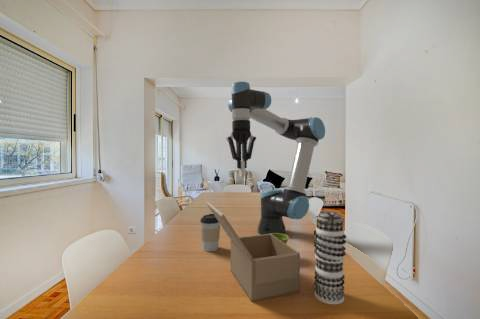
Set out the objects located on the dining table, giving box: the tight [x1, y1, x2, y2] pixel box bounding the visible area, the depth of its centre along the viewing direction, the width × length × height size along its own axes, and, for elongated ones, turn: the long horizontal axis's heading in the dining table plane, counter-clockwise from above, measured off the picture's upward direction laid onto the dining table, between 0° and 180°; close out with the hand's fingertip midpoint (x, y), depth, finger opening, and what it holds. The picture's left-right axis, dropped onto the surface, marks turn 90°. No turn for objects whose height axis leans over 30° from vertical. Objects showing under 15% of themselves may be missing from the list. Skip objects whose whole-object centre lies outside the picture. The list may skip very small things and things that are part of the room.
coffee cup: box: [200, 213, 221, 252], centre depth 113 cm, size 9×9×15 cm
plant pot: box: [270, 233, 290, 245], centre depth 104 cm, size 9×9×9 cm
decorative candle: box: [313, 210, 347, 305], centre depth 75 cm, size 9×9×25 cm
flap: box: [205, 201, 252, 259], centre depth 80 cm, size 16×20×1 cm
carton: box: [230, 234, 301, 302], centre depth 84 cm, size 16×21×12 cm
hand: (242, 176), depth 106 cm, fingers closed
